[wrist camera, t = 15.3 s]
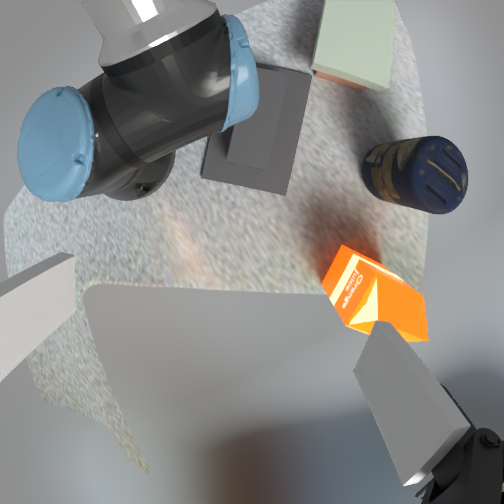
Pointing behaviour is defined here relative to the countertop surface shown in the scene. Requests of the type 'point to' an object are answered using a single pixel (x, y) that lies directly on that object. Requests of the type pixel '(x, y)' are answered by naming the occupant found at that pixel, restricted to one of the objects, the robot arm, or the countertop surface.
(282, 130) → the mat stand
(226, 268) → the countertop surface
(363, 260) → the orange juice
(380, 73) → the board
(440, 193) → the canister
